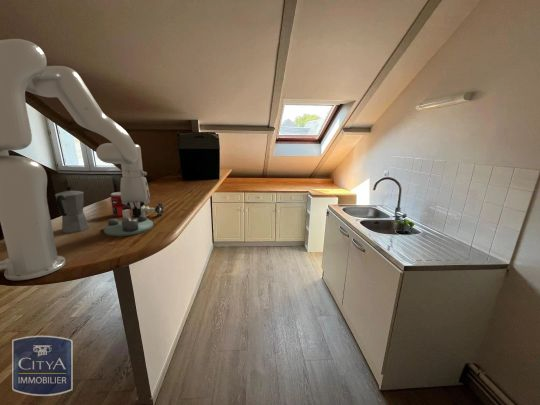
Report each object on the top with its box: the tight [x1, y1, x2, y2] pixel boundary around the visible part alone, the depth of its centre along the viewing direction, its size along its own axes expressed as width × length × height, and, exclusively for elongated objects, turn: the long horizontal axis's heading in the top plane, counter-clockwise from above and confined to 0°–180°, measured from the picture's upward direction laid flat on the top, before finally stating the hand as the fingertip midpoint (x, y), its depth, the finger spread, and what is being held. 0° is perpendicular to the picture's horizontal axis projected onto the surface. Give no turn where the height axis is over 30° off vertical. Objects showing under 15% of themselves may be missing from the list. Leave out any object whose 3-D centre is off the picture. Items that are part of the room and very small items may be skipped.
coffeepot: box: [54, 185, 90, 234], centre depth 98 cm, size 15×9×18 cm, turn 14°
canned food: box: [110, 191, 133, 218], centre depth 121 cm, size 8×8×11 cm
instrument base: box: [103, 215, 154, 237], centre depth 103 cm, size 18×18×4 cm
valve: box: [141, 202, 165, 217], centre depth 121 cm, size 7×7×12 cm
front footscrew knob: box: [120, 210, 139, 232], centre depth 100 cm, size 13×6×6 cm, turn 36°
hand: (137, 216), depth 105 cm, fingers closed
